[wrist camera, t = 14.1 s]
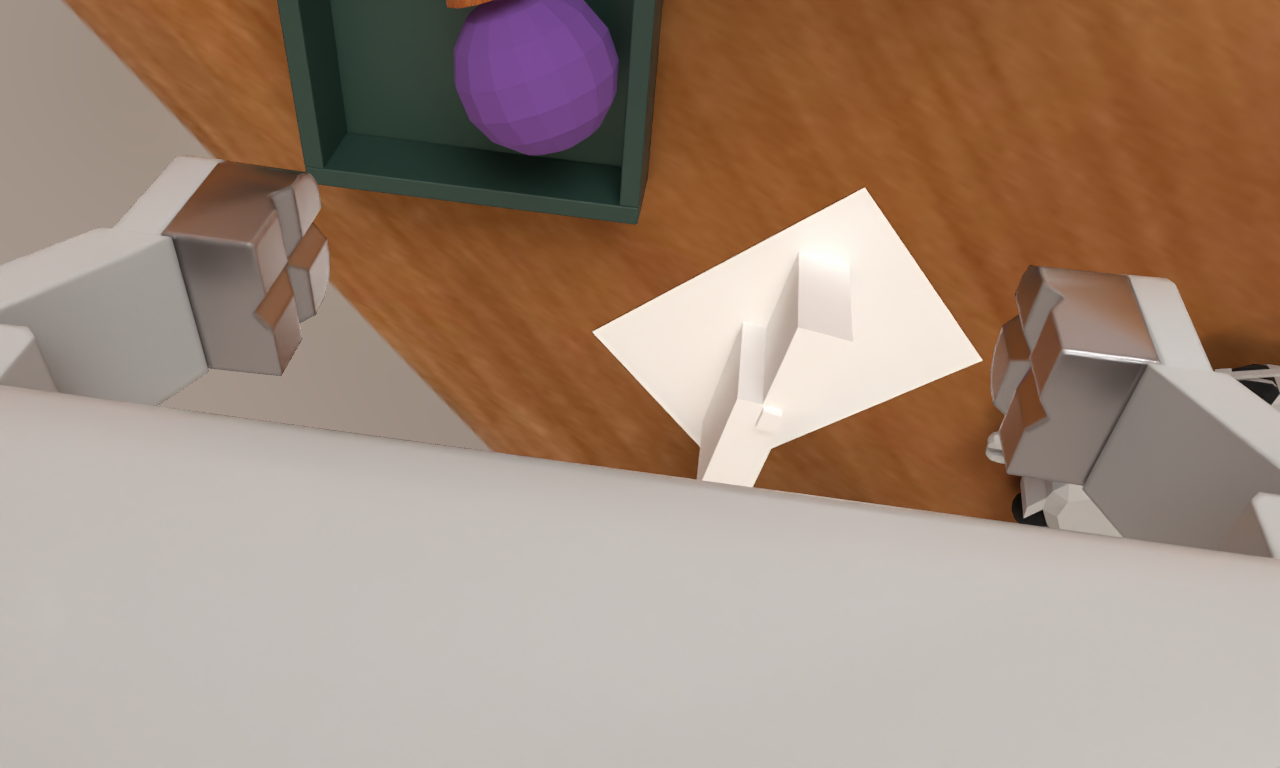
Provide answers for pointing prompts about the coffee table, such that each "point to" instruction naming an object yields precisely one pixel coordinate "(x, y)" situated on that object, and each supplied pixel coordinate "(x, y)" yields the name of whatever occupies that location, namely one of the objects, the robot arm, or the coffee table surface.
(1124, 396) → the robot arm
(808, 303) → the napkin holder
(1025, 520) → the robot toy
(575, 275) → the coffee table surface
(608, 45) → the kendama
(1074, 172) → the coffee table surface
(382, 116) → the tray
